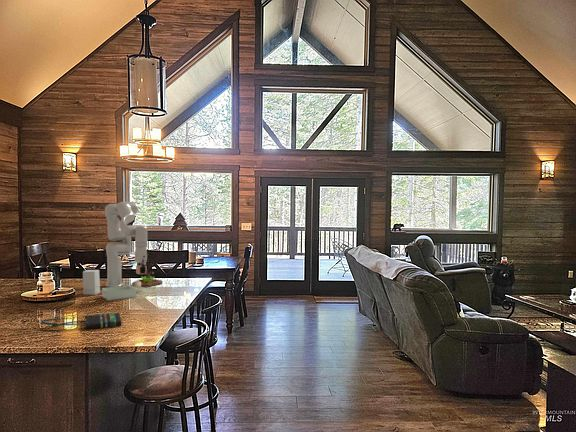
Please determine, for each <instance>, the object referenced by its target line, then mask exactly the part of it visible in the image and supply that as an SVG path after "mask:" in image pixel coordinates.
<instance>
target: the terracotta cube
mask: <svg viewBox="0 0 576 432" xmlns="http://www.w3.org/2000/svg"><path fill="white" fill-rule="evenodd" d="M140 267H141V265H138V266H137V265H135V273H136V274H137V275H142V274H143V275H145V274H146V275H147V271H146V270H148V269H147V265H146V267H145V273H140Z"/></svg>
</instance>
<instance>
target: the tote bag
mask: <svg viewBox="0 0 576 432" xmlns="http://www.w3.org/2000/svg"><path fill="white" fill-rule="evenodd" d="M75 318H79V316H77V317H74V319H75ZM82 318H84V319H85V320H75V321H73V320H72V321H67V322H60V323H52V322H49V321H57V320H58V321H59V320H68V319H69V320H70V317H65V318H62V317H61V318H51V319H50V318H49V319H43V320H40V323H41V324H42V325H48V326H44V327H43V328H44V329H43V328H42V327H41V330H43V331H42V332H57V331H67V330H68V331H69V330H71V328H65V329H47V328H51V327H52V328H53V327H57V326H80V325H81V326H82V325H85V327H84V328H83V327H82V328H79V330H84V331H86V330H89V329H105V328H106V327H108V328H116V327H115V326H118V327H122V319H121V314H120V312H112V313H111V312H110V313H102V314H93V315H89V314H88V315H83V316H82ZM81 322H83V323H81ZM106 329H107V328H106Z"/></svg>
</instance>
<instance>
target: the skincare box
mask: <svg viewBox="0 0 576 432" xmlns="http://www.w3.org/2000/svg"><path fill="white" fill-rule="evenodd" d="M100 282H101V281H100V269H87V270H84V271H82V286H83V288H82V289H83V295H84V296H85V295H89V296H92V295H98V294H100V293H101V285H100V284H101V283H100Z"/></svg>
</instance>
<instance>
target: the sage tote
mask: <svg viewBox="0 0 576 432" xmlns="http://www.w3.org/2000/svg"><path fill="white" fill-rule="evenodd" d="M101 291H102V292H101V294H102V295H101V296H102V298H103V299H105V300H106V301H108V302H109V301H116V300H117V301H118V300H123V299H124V300H125V299H132V298H137V293H136V288H134V287H133V286H132V285H123V286H118V287H102V288H101Z"/></svg>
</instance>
